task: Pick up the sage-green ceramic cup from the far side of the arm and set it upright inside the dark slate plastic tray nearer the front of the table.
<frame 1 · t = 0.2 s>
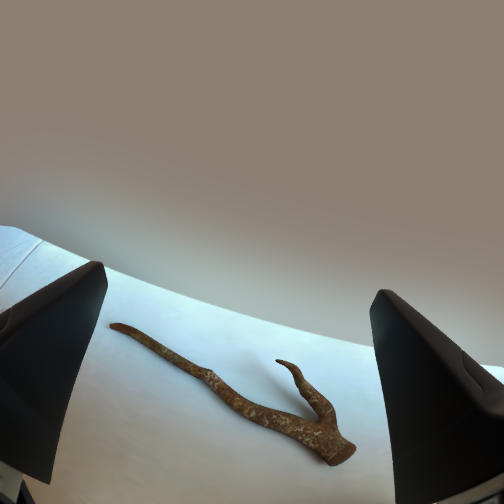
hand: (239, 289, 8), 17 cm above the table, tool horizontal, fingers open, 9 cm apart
branch: (215, 402, 21), on the table
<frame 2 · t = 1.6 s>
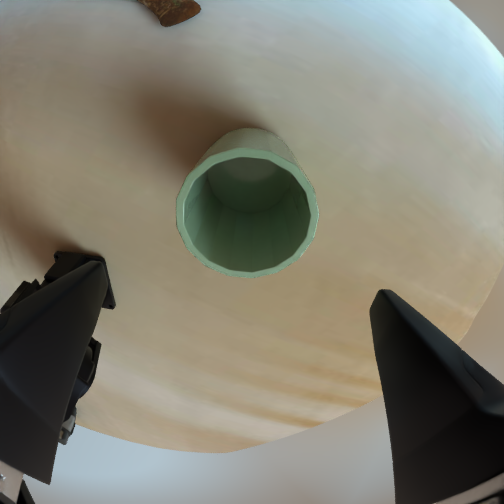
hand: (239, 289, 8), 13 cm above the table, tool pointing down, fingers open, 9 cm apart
cup: (249, 172, 19), on the table
camera: (49, 421, 44), point 5 cm above the table
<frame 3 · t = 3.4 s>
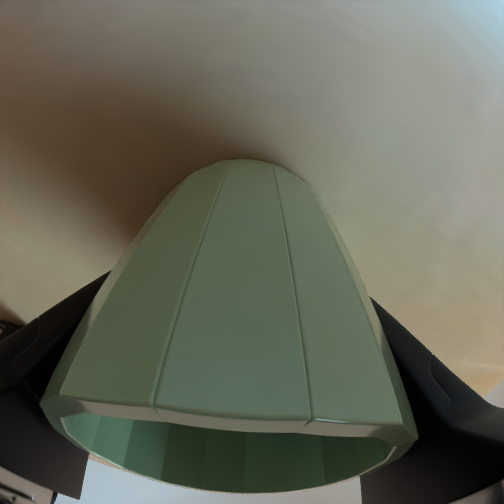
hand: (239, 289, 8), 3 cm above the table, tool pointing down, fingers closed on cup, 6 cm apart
cup: (242, 245, 10), on the table, touching gripper
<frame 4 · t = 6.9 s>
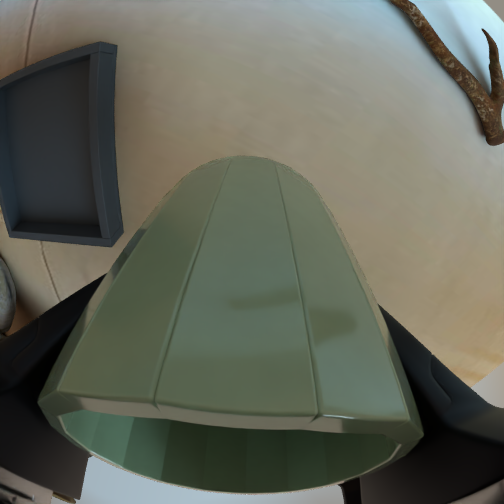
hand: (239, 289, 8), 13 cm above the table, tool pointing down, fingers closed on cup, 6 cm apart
cup: (244, 243, 10), point 10 cm above the table, touching gripper
tray: (52, 148, 18), on the table
branch: (412, 35, 12), on the table
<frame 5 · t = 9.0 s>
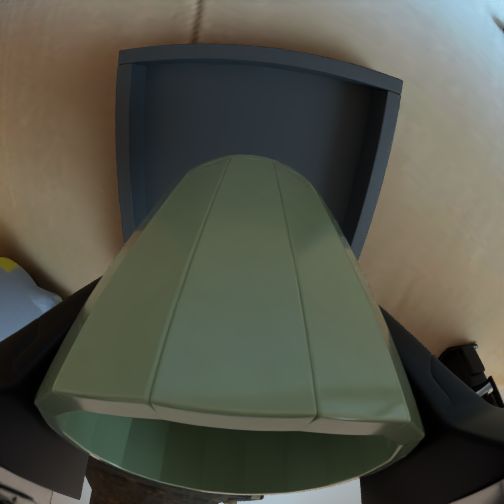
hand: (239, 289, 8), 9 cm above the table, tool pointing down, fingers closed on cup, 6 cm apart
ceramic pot: (163, 409, 32), on the table, touching seashell
cup: (243, 242, 10), point 6 cm above the table, touching gripper
toy 2: (62, 310, 21), point 1 cm above the table
tray: (247, 188, 16), on the table
when the fingers open (3 cm above the table, at t = 10.9 s): cup stays where it is, resting on tray.
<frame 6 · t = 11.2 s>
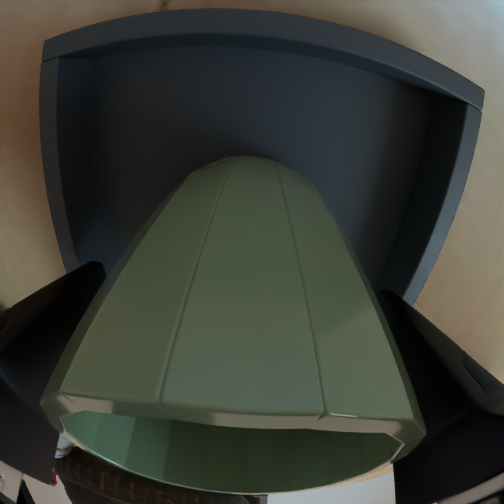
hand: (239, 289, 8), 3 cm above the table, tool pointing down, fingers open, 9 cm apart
seashell: (38, 402, 16), point 4 cm above the table, touching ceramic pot
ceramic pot: (156, 445, 27), on the table, touching seashell
cup: (245, 242, 10), resting on tray
tray: (244, 239, 11), on the table
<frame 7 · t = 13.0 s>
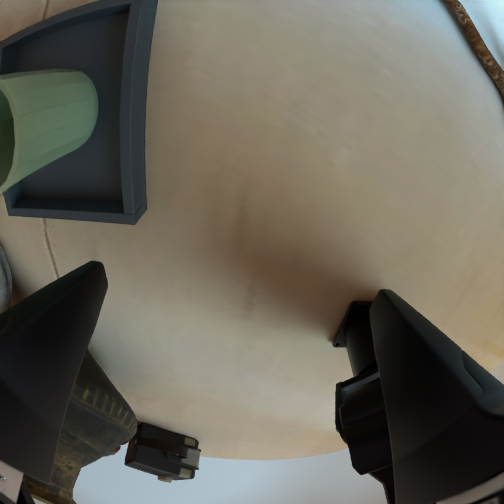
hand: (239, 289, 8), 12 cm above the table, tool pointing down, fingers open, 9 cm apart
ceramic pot: (72, 354, 31), on the table, touching seashell
cup: (63, 111, 14), resting on tray
camera: (153, 459, 46), point 5 cm above the table
tray: (67, 112, 15), on the table
branch: (455, 31, 11), on the table
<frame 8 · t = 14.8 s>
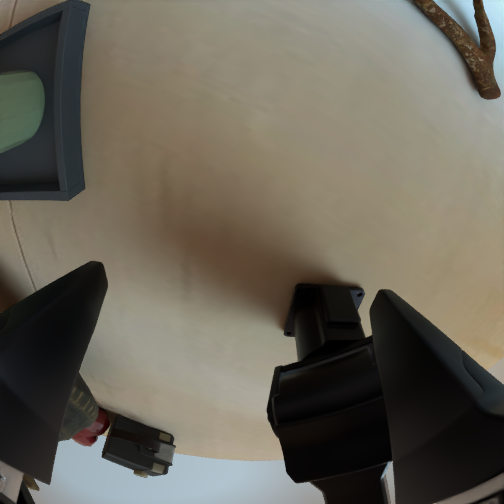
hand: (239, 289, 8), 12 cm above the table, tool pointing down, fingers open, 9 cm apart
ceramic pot: (44, 339, 31), on the table, touching seashell
cup: (20, 106, 14), resting on tray
camera: (131, 453, 45), point 5 cm above the table
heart: (61, 410, 38), point 4 cm above the table
tray: (24, 107, 14), on the table
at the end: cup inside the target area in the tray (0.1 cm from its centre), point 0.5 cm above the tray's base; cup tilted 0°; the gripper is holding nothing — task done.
